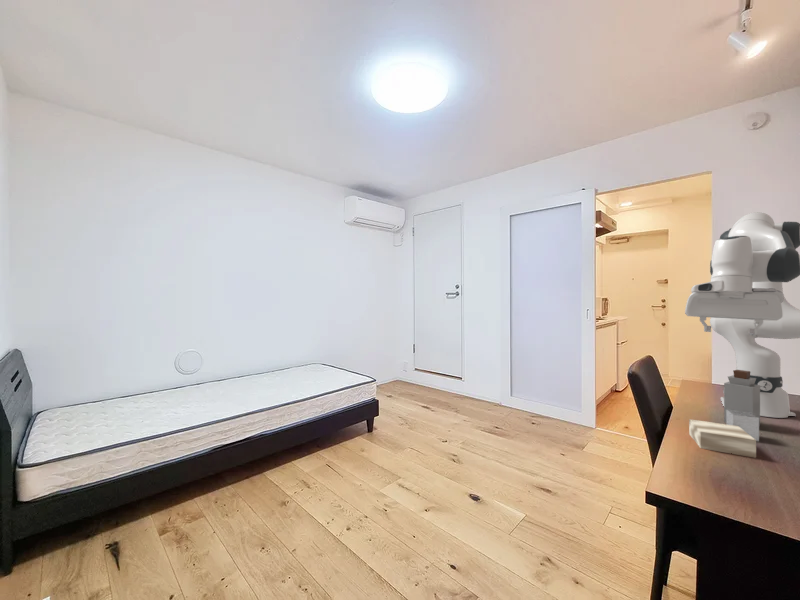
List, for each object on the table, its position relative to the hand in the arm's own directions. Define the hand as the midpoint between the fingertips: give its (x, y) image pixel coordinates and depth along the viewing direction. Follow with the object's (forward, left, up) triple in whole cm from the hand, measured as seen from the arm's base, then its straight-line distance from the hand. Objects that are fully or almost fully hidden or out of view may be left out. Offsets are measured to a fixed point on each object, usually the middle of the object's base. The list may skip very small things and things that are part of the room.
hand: (729, 333), depth 95 cm
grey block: (-6, +4, -32) cm, 33 cm away
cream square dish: (+6, -4, -32) cm, 33 cm away
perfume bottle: (-20, +8, -32) cm, 39 cm away
